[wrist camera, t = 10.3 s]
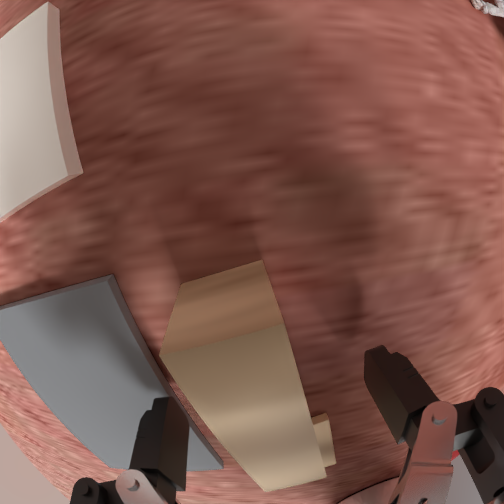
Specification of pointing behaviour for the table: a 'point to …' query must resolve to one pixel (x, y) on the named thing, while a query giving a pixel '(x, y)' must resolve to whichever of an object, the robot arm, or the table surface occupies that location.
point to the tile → (34, 113)
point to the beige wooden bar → (246, 377)
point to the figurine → (490, 7)
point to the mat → (93, 368)
